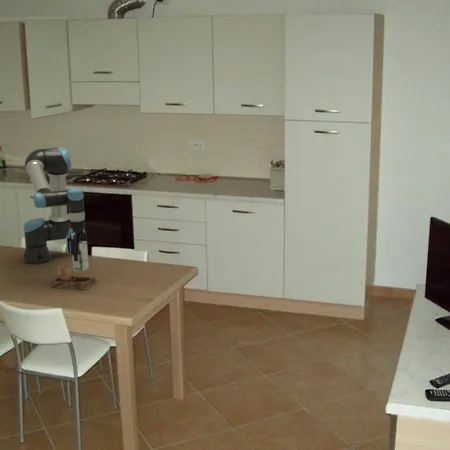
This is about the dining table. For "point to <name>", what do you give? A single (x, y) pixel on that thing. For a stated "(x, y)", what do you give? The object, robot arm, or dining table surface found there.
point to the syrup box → (82, 257)
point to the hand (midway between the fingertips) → (80, 264)
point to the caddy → (71, 280)
